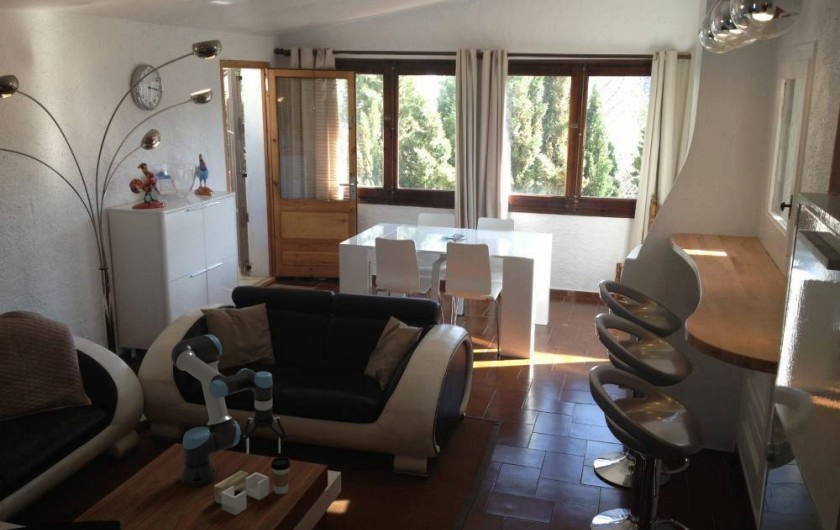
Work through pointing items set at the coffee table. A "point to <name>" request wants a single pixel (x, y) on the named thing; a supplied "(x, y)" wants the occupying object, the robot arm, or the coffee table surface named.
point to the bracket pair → (245, 493)
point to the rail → (231, 483)
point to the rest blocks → (238, 490)
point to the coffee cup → (280, 474)
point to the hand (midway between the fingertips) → (263, 452)
